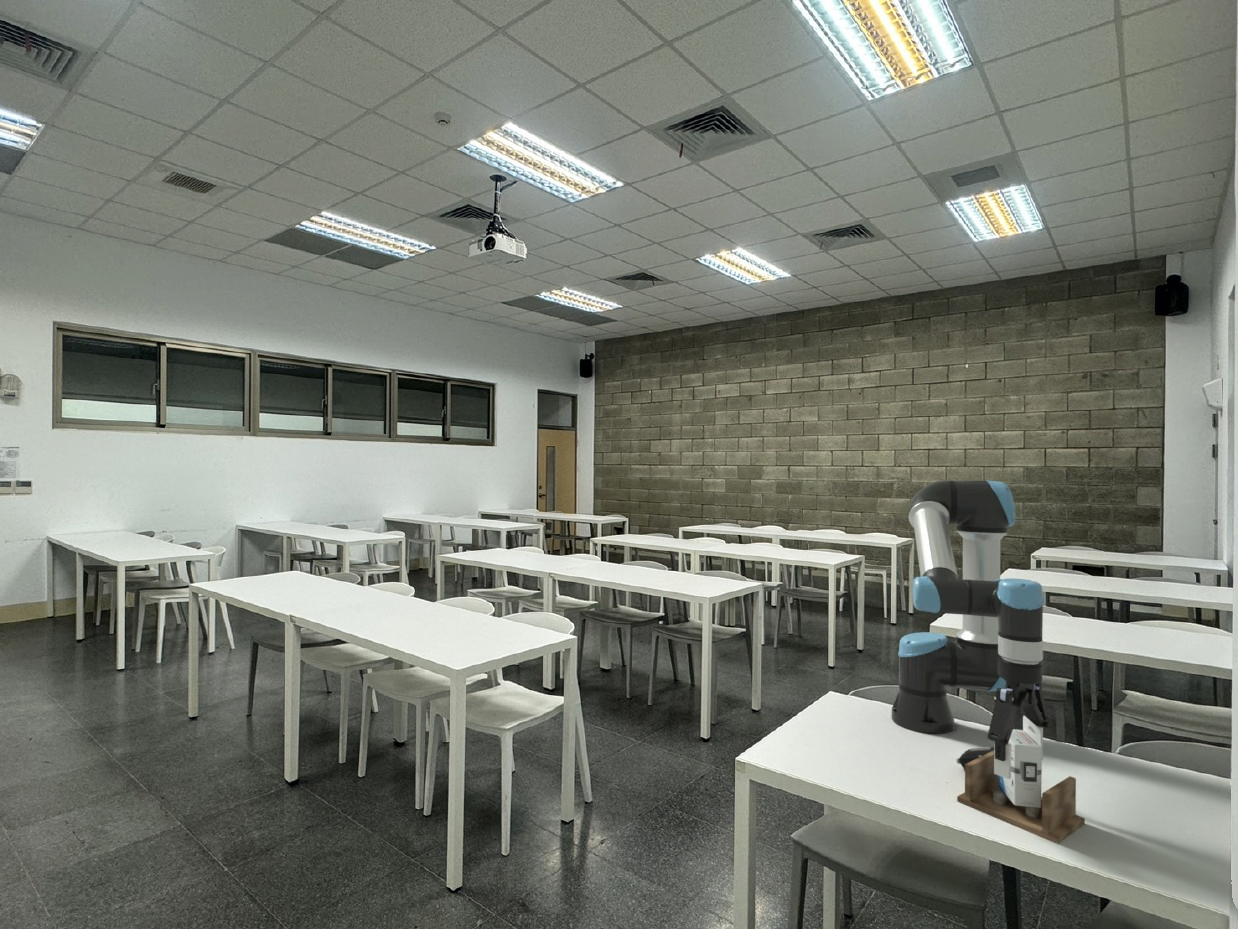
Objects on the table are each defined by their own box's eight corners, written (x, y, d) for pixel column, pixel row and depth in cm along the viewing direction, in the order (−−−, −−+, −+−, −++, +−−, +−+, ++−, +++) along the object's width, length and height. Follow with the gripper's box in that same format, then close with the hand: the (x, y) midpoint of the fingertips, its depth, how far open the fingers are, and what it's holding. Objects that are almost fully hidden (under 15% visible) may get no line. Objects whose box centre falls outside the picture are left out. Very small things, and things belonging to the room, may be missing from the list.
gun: (980, 787, 146) (954, 747, 147) (1049, 787, 133) (1019, 742, 134) (974, 795, 144) (948, 754, 146) (1044, 795, 131) (1014, 750, 133)
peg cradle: (986, 785, 138) (986, 747, 138) (1084, 823, 123) (1084, 781, 123) (957, 801, 131) (957, 761, 131) (1057, 843, 116) (1057, 799, 116)
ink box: (996, 785, 132) (997, 712, 132) (1023, 787, 131) (1023, 714, 131) (1013, 806, 123) (1014, 728, 124) (1042, 809, 122) (1042, 730, 123)
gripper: (1027, 645, 138) (1027, 744, 138) (968, 664, 123) (967, 776, 123) (1068, 653, 132) (1067, 758, 131) (1010, 675, 117) (1009, 792, 117)
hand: (1018, 767), depth 127 cm, fingers open, 13 cm apart
